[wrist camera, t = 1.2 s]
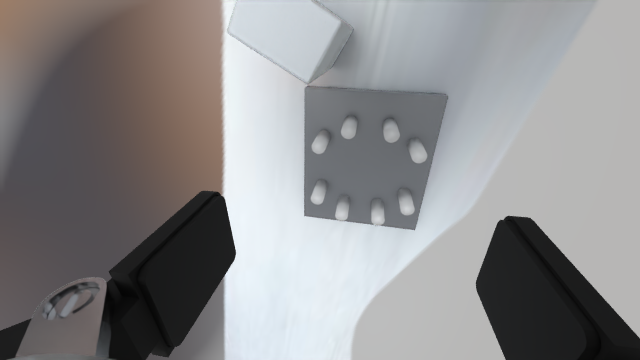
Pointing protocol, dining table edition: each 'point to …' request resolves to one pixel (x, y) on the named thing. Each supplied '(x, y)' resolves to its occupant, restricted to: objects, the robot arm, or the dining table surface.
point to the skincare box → (291, 34)
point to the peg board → (369, 153)
